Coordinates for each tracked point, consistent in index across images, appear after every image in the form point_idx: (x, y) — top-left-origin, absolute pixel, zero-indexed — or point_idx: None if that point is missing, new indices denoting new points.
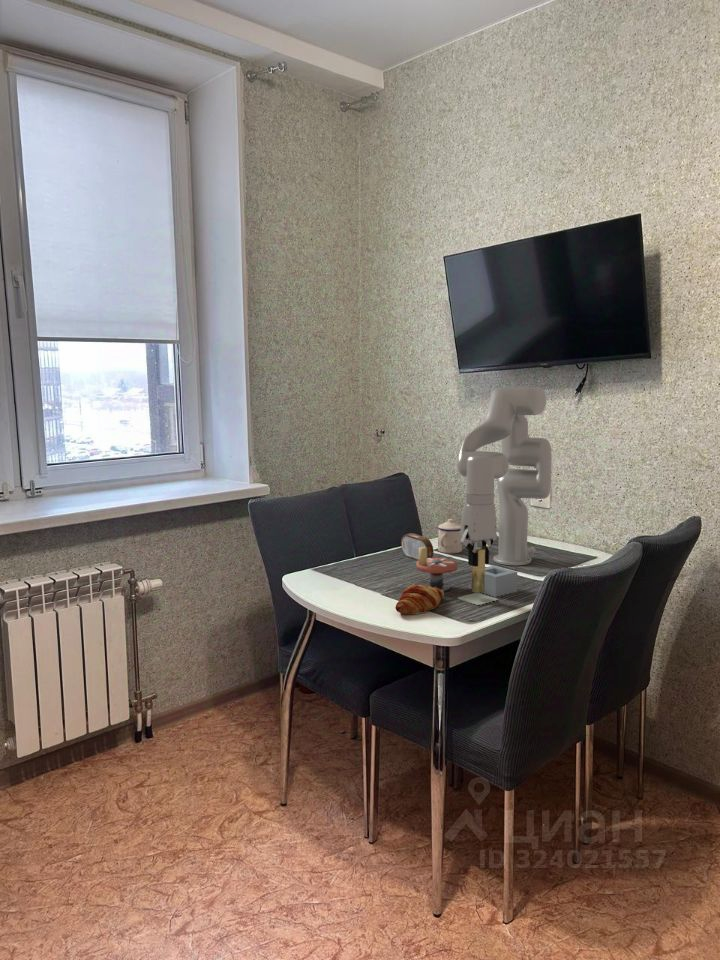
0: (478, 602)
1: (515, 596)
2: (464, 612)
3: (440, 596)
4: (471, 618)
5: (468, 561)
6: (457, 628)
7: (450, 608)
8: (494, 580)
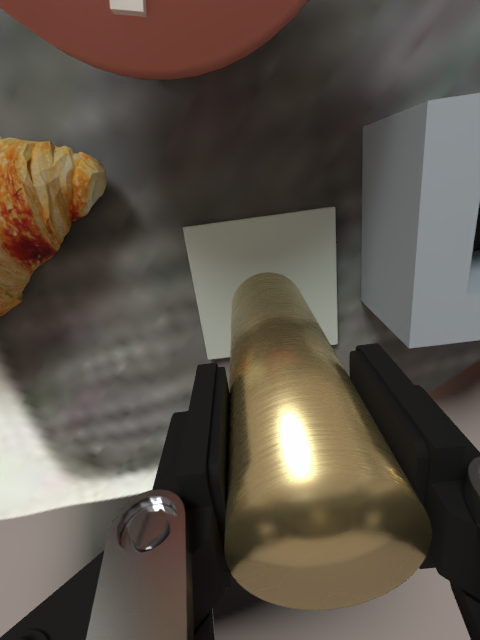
0: (228, 338)
1: None
2: (112, 388)
3: (40, 260)
4: (104, 443)
5: (195, 380)
6: (12, 487)
7: (80, 325)
8: (397, 327)
